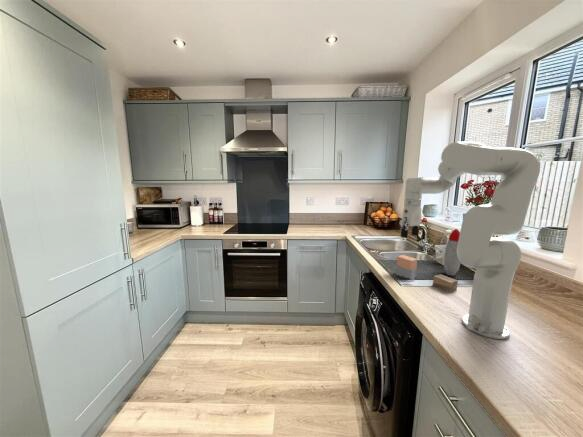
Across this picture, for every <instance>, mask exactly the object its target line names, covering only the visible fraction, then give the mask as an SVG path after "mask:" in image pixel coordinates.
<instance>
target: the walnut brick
mask: <svg viewBox="0 0 583 437" xmlns="http://www.w3.org/2000/svg"><path fill="white" fill-rule="evenodd" d="M458 282H459V281H458V280H457V279H454V278H451V277H448V276H447V275H444V274H436V275H433V279H432V286H433V287H436V288H437V289H440V290H442V291H444V292H446V293H453V292H457V289H458Z"/></svg>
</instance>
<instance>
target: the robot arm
mask: <svg viewBox="0 0 583 437" xmlns="http://www.w3.org/2000/svg"><path fill="white" fill-rule="evenodd" d="M440 156H441V158H440V159H441V162H440V163H439V165H438V168H437V170H438V174H439V176H438V177H430V176H429V177H428V176H427V177H424V176H423V177H420V176H419V177H408V178H407V179H406V180H405V189H404V202H403V206H404V207H403V210H402V217H401V220H400V221H399V224H400V237H401V238H403V239H408V237H409V236H408V235H409V234H408V233H409V230H408V229H409V227H411V236H415V237H417V236H419V229H420V225H421V223H422V207H421V206H422V197H423V194H424V195H427V194H428V195H433V194H434V195H437V194H441V193H444V192H445V191H447V190H449V189H451V188H453V187H454V185H455V183H456V182H457V179H458V178H459V177H461V176H462V175H465V174H466V173H467V174H469V175H475V176H502V177H503V178H502V179H501V180H500V181H499V182H498V184H497V185H496V186H495V189H494V190H493V195H492V199H491V202H490V204H480V205H475V206H473V207H471V208H469V210H468V211H467V212H465V214H464V216H463V218H462V222H461V228H460V231H459V232H460V236H459V240H458V245H457V256H458V259H459V261H460V262H461V263H460V264H462V265H463V267H467V268H470V269H476V271H475V272H474V276H473V282H472V286H471V287H472V288H471V295H470V302H469V309H468V313H467V314H465V315H463V316H462V319H461V322H462V325H464V326H465V327H466V328H467V330H469V331H472V332H474V333H475V334H477V335H480V336H483V337H484V338H485V337H486V338H490V339H493V340H505V339H509V337H510V334H511V331H510V330H509V328H508V327H507V326H506V325H505V324H506V320H507V319H506V318H507V313H508V308H509V301H510V296H511V290H512V287H513V286H512V285H513V280H514V276H515V273H516V271H517V268H518V267H519V265H520V262H521V258H522V252H521V251H522V250H521V249H520V246H519V245H518V244H517V243H516V242H515V241H514V240H511V239H509V238H505V237H499V236H511V235H515V234H518V233H519V232H520V231H521V230H522V229H523V227H524V224H525V220H526V216H527V213H528V209H529V207H530V202H531V198H532V194H533V193H534V192H533V191H534V189H535V186H536V185H537V184H536V183H537V182H538V179H539V176H540V172H541V163H540V161H539V159H538V157H537V156H536V155H535V154H534V153H532V152H531V151H528V150H526V149H523V148H517V147H516V148H515V147H496V146H495V147H493V146H486V145H485V144H484V143H482V142H476V141H454V142H451V143H449V144H448V145H446V147H445V148H443V150H442V153H441V155H440ZM492 236H495V237H492ZM497 236H498V237H497Z"/></svg>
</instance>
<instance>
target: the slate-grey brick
mask: <svg viewBox="0 0 583 437" xmlns="http://www.w3.org/2000/svg"><path fill="white" fill-rule="evenodd" d="M395 269H396V270H395V275H396V276H398V275H399V277H402V276H403V277H402V278H406V279H408V278H409V279H408V280H413V279H415V278H416V276H417V274H416V273H417V269H414V270H408V269H405V268H403V267H400V266H397V265H396V268H395Z"/></svg>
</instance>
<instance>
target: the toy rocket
mask: <svg viewBox="0 0 583 437" xmlns="http://www.w3.org/2000/svg"><path fill="white" fill-rule="evenodd" d="M459 236H460V231H459V229H458V228H455V229H453V230H452V232H451V233H450V235H449V237H448V240H447V243H446V246H445V248H444V250H445V251H444V255H443V256H444V257H443V267H444V271H445V274H446V275H447V276H452V277H453V276H454V277H455V276H456V273H458V272H459V270H460V266H461V264H462V263H461V262H460V261H459V259H458V256H457V245H458V240H459Z"/></svg>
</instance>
